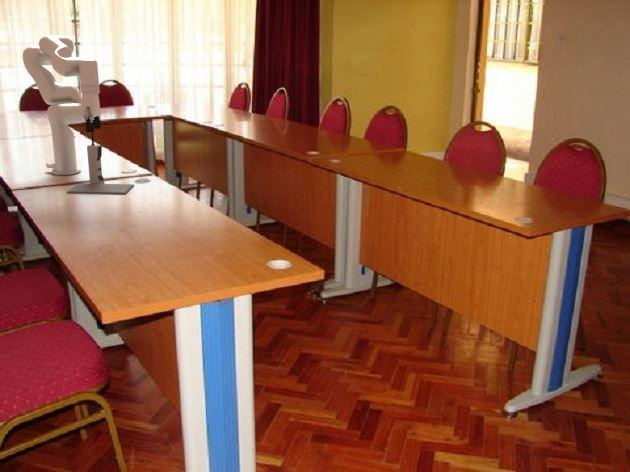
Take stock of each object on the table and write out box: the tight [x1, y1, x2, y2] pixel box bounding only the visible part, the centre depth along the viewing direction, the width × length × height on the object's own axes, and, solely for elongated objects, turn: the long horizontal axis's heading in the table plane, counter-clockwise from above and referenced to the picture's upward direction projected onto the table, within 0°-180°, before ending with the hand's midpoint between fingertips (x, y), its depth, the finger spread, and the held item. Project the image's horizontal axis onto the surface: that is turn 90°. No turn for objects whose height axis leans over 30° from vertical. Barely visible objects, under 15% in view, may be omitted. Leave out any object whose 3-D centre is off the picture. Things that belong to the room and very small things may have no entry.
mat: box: [66, 182, 135, 195], centre depth 284 cm, size 24×14×1 cm, turn 90°
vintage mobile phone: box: [86, 132, 105, 184], centre depth 290 cm, size 4×5×25 cm
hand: (93, 130), depth 287 cm, fingers open, 9 cm apart
